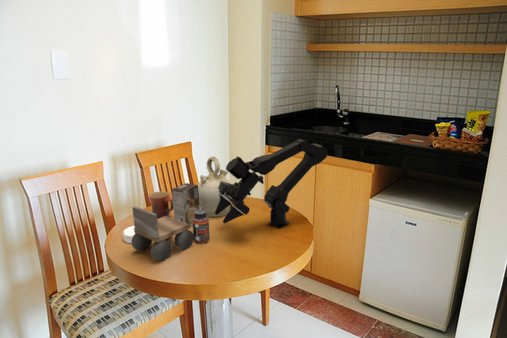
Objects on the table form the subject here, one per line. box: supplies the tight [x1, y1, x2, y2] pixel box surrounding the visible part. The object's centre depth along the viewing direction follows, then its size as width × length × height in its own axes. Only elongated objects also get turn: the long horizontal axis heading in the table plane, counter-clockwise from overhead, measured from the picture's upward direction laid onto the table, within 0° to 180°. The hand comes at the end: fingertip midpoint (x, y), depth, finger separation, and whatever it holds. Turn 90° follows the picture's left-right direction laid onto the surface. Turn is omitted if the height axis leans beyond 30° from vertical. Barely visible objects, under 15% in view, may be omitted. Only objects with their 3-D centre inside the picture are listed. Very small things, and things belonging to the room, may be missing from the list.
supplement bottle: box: [192, 209, 210, 244], centre depth 144 cm, size 6×6×11 cm
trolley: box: [130, 206, 194, 262], centre depth 137 cm, size 17×13×17 cm
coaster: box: [122, 225, 135, 244], centre depth 148 cm, size 10×10×4 cm
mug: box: [148, 190, 174, 219], centre depth 165 cm, size 12×9×10 cm
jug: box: [197, 156, 232, 218], centre depth 168 cm, size 15×16×25 cm
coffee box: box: [171, 182, 201, 228], centre depth 158 cm, size 9×6×16 cm
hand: (219, 218), depth 146 cm, fingers open, 9 cm apart
